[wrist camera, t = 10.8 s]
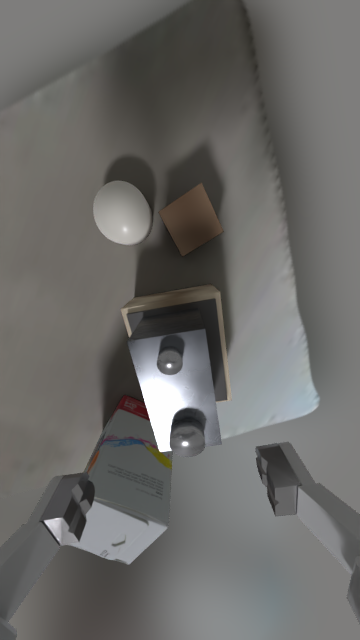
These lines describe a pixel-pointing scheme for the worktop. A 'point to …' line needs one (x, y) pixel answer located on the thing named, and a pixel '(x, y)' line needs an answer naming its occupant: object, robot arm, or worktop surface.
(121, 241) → the white egg shape
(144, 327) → the block
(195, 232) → the walnut block
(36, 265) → the worktop surface
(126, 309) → the stand
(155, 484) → the ink box
